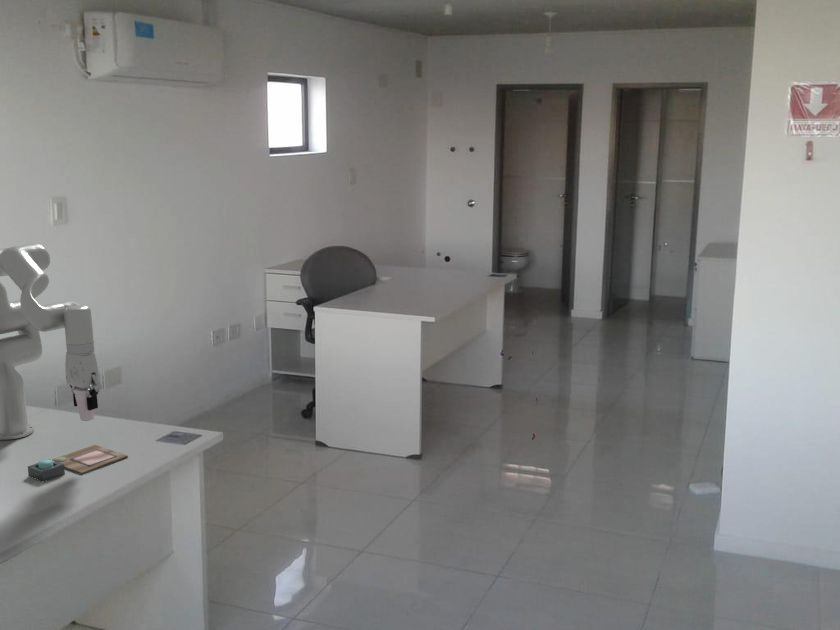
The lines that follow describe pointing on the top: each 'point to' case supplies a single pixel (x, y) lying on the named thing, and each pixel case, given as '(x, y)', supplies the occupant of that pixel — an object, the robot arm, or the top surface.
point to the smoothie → (83, 404)
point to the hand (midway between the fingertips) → (85, 406)
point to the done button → (45, 464)
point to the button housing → (46, 471)
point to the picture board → (89, 459)
